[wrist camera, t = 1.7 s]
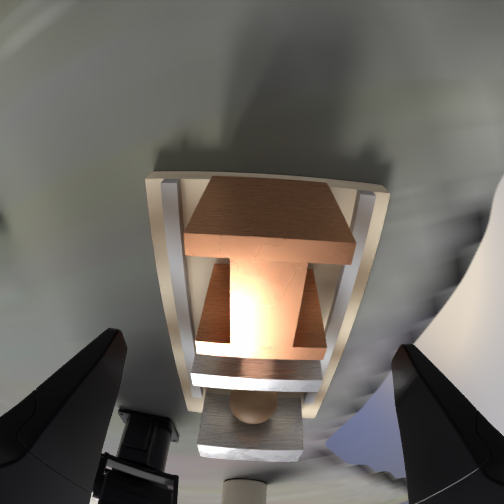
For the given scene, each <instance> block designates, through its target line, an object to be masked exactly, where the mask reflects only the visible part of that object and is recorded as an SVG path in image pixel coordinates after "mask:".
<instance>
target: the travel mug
mask: <svg viewBox="0 0 504 504" xmlns="http://www.w3.org/2000/svg"><path fill="white" fill-rule="evenodd" d="M266 489H267V485H266V484H265V483H263V482H260V481H256V480H250V479H232V480H228V481H225V482H224V483H223V491H222V501H221V504H266Z"/></svg>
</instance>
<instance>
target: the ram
mask: <svg viewBox="0 0 504 504" xmlns="http://www.w3.org/2000/svg"><path fill="white" fill-rule="evenodd" d="M356 244H357V243H356V241H355V239H354V236H353V234H352V232H351V230H350V228H349V226H348V224H347V222H346V220H345V218H344V215H343V213H342V211H341V209H340V207H339V205H338V203H337V201H336V199H335V197H334V195H333V193H332V191H331V189H330V188H329V186H328V184H327V182H316V181H304V180H291V179H276V178H259V177H239V176H212V177H211V179H210V181H209V183H208V185H207V187H206V189H205V191H204V193H203V195H202V197H201V198H200V200H199V202H198V204H197V206H196V208H195V211H194V213H193V215H192V217H191V219H190V221H189V223H188V225H187V227H186V229H185V231H184V245H185V256H199V257H216V258H230V264H215V263H214V266H213V270H212V274H211V278H210V282H209V286H208V290H207V294H206V298H205V302H204V306H203V310H202V315H201V319H200V323H199V327H198V331H197V336H196V340H195V343H196V352H195V356H194V361H193V365H192V370H191V377H192V382H193V385H196V386H205V387H215V388H226V389H239V390H256V391H282V392H319V389H320V386H321V384H322V381H323V377H322V369H321V361H320V360H323V359H324V356H325V353H326V350H327V343H326V337H325V331H324V325H323V320H322V314H321V308H320V303H319V297H318V292H317V287H316V282H315V276H314V271H313V269H307V267H308V263H322V264H341V265H351V264H352V260H353V256H354V252H355V248H356Z"/></svg>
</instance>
